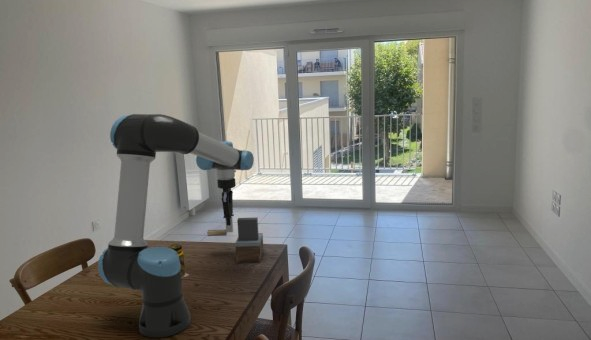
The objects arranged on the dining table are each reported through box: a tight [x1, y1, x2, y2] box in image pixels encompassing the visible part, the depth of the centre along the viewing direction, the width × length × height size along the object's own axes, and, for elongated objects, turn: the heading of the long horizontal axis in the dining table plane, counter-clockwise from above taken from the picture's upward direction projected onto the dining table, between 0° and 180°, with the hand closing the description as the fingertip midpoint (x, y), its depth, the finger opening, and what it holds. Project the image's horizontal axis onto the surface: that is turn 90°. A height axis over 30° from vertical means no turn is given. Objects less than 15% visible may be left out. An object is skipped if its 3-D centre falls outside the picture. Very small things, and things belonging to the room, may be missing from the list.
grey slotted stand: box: [234, 217, 264, 248], centre depth 184 cm, size 12×10×11 cm
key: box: [206, 229, 228, 237], centre depth 189 cm, size 2×8×2 cm, turn 88°
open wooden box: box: [235, 236, 264, 264], centre depth 185 cm, size 12×10×7 cm
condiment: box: [168, 243, 190, 279], centre depth 168 cm, size 7×8×12 cm
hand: (229, 231), depth 188 cm, fingers closed
